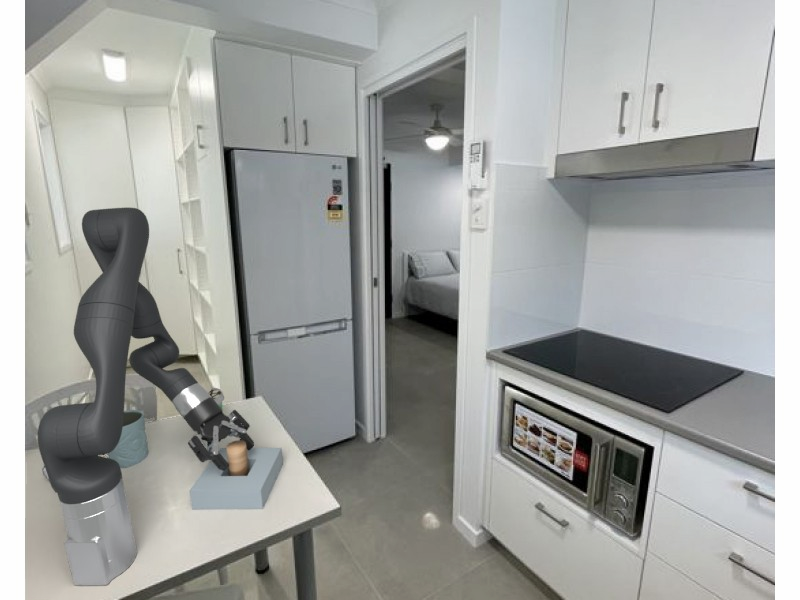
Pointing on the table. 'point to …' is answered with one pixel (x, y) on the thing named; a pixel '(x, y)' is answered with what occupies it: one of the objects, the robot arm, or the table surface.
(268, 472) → the socket block
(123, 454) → the teal plant pot
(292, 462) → the table surface
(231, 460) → the peg
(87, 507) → the robot arm
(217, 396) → the food container
